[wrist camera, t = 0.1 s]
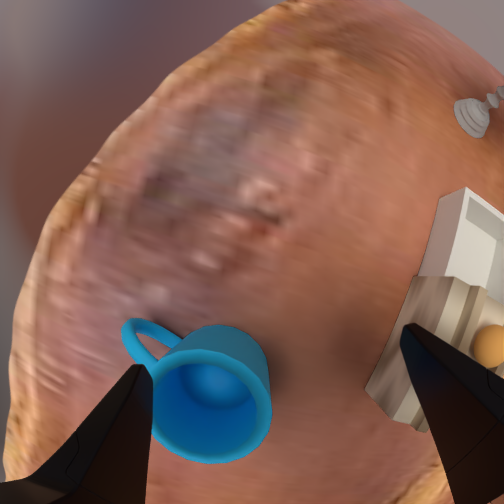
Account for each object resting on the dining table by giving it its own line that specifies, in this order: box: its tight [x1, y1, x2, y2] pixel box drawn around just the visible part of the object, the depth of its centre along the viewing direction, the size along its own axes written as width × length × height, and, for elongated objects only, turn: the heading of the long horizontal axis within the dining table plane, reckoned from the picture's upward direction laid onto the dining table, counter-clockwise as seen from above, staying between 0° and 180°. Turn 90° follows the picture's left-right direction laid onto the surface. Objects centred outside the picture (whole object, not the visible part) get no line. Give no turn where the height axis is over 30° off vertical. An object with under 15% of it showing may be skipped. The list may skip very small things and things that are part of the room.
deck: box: [364, 276, 504, 433], centre depth 20 cm, size 11×10×8 cm
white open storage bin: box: [417, 187, 504, 305], centre depth 22 cm, size 8×9×4 cm
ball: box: [474, 324, 504, 368], centre depth 16 cm, size 3×3×3 cm
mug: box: [121, 318, 272, 464], centre depth 20 cm, size 12×8×8 cm
